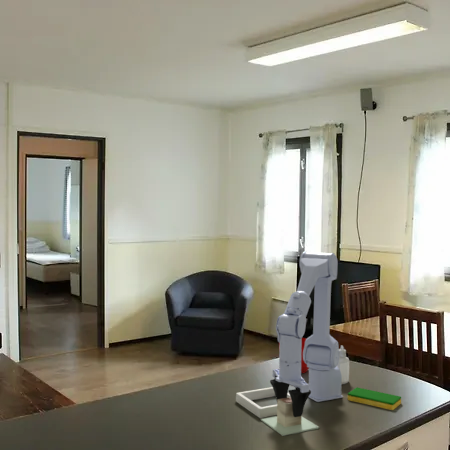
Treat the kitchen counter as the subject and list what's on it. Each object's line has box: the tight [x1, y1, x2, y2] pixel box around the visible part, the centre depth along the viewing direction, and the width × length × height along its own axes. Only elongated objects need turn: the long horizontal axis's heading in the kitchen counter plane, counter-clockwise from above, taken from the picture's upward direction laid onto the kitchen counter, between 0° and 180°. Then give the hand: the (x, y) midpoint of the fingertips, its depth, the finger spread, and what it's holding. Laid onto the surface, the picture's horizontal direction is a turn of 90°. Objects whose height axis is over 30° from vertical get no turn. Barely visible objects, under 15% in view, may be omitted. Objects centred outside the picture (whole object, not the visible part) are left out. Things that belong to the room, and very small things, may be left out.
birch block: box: [276, 397, 303, 427], centre depth 150 cm, size 5×4×6 cm
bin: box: [235, 386, 290, 419], centre depth 163 cm, size 14×14×2 cm
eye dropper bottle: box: [337, 345, 350, 385], centre depth 184 cm, size 4×6×12 cm
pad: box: [260, 415, 320, 437], centre depth 150 cm, size 11×11×1 cm
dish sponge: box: [347, 386, 402, 411], centre depth 168 cm, size 7×14×2 cm, turn 54°
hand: (289, 411), depth 150 cm, fingers open, 7 cm apart
